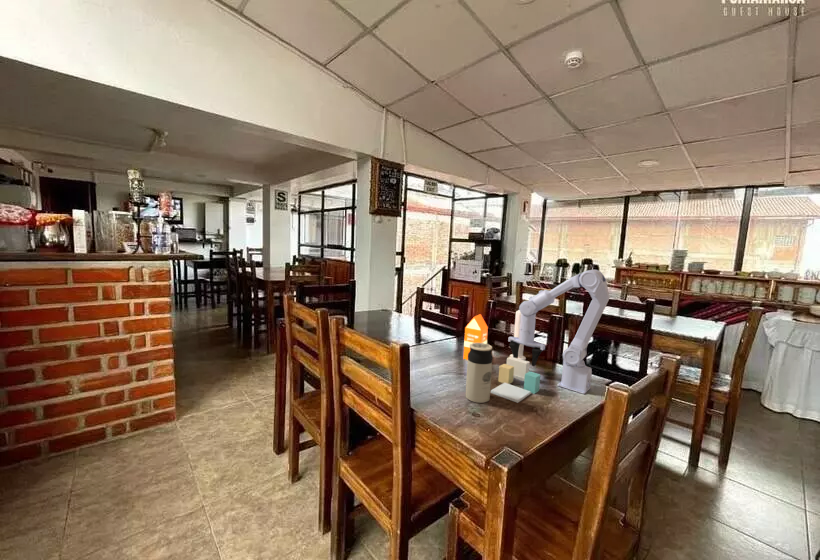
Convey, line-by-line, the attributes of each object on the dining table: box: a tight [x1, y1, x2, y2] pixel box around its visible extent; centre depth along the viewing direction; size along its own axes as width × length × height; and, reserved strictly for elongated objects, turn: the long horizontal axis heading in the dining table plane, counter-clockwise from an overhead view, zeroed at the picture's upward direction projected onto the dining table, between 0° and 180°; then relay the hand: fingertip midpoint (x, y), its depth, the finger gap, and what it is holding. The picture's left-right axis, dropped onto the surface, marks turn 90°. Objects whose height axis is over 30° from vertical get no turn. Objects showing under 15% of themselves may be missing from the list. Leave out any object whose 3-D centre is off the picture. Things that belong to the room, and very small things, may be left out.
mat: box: [490, 382, 532, 404], centre depth 114 cm, size 10×10×1 cm
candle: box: [509, 309, 527, 361], centre depth 150 cm, size 7×7×25 cm
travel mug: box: [465, 343, 493, 404], centre depth 108 cm, size 8×8×18 cm
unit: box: [506, 356, 531, 382], centre depth 129 cm, size 10×5×7 cm, turn 46°
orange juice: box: [462, 313, 489, 361], centre depth 147 cm, size 8×9×20 cm
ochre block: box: [497, 363, 514, 385], centre depth 124 cm, size 4×4×6 cm
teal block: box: [523, 370, 541, 395], centre depth 117 cm, size 4×4×6 cm
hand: (524, 362), depth 133 cm, fingers open, 7 cm apart
